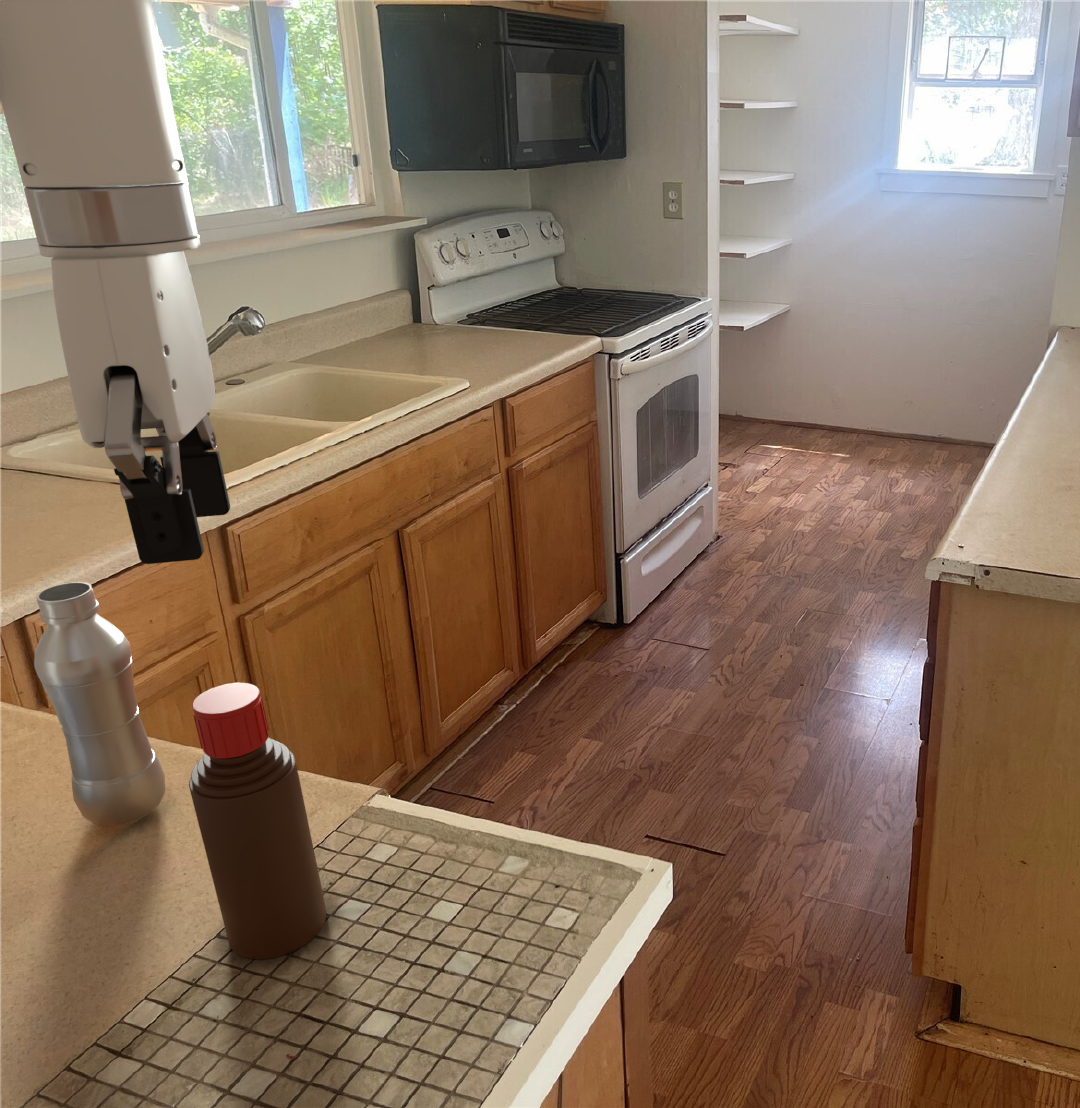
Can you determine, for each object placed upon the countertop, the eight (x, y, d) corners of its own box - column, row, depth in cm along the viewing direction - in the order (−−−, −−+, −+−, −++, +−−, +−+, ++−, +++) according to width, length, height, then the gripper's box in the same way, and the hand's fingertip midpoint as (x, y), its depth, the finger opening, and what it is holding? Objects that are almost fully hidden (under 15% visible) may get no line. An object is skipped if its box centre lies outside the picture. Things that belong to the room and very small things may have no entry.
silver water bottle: (141, 780, 89) (82, 567, 82) (189, 804, 86) (132, 585, 78) (64, 820, 84) (-6, 598, 77) (112, 847, 81) (43, 618, 73)
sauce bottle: (276, 971, 69) (222, 741, 62) (207, 943, 72) (148, 718, 65) (346, 909, 74) (303, 691, 68) (280, 885, 77) (232, 672, 70)
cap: (233, 765, 65) (222, 719, 63) (188, 750, 66) (177, 706, 65) (282, 733, 68) (273, 689, 67) (239, 720, 70) (229, 677, 68)
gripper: (91, 211, 62) (158, 495, 69) (-35, 241, 46) (69, 604, 53) (227, 208, 63) (279, 485, 70) (150, 235, 48) (227, 588, 55)
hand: (188, 534), depth 62 cm, fingers open, 6 cm apart
